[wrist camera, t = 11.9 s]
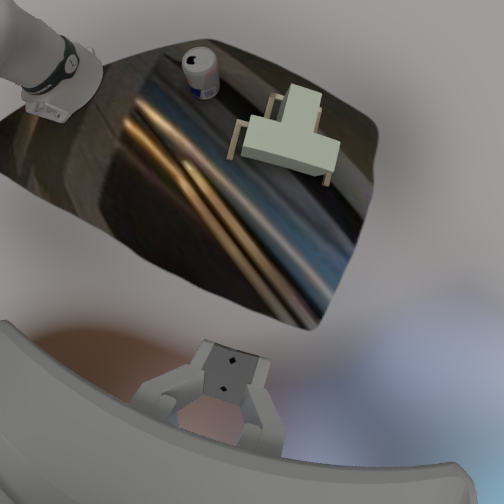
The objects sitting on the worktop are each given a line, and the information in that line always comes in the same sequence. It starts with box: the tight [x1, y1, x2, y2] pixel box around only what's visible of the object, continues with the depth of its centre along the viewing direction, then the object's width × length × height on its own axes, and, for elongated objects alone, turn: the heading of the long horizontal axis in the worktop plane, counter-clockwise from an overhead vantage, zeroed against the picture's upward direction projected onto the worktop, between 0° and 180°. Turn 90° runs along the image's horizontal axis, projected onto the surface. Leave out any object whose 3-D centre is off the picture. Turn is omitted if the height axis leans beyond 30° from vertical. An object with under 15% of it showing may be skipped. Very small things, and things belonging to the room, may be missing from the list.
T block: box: [241, 84, 340, 176], centre depth 42 cm, size 14×12×10 cm
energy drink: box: [182, 47, 220, 100], centre depth 38 cm, size 5×5×12 cm
